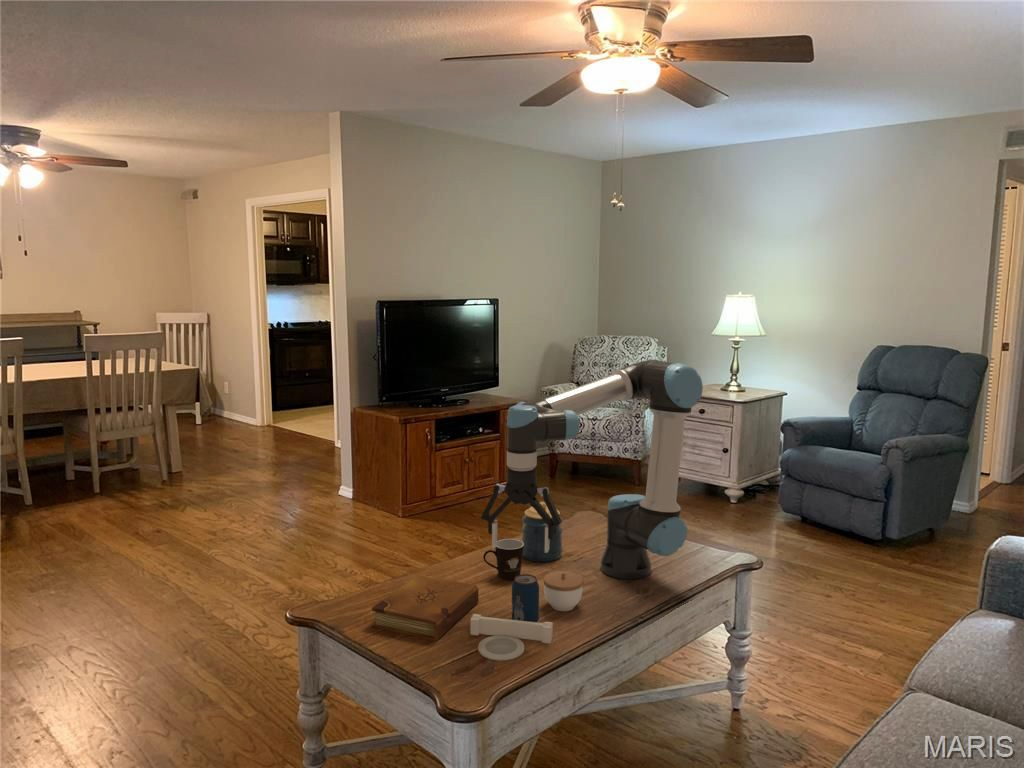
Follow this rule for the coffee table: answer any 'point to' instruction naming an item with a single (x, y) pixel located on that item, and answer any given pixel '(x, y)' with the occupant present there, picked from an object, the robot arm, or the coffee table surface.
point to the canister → (540, 537)
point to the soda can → (525, 598)
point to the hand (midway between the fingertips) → (520, 548)
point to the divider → (511, 628)
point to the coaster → (501, 647)
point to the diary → (425, 606)
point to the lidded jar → (563, 589)
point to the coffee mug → (508, 558)
